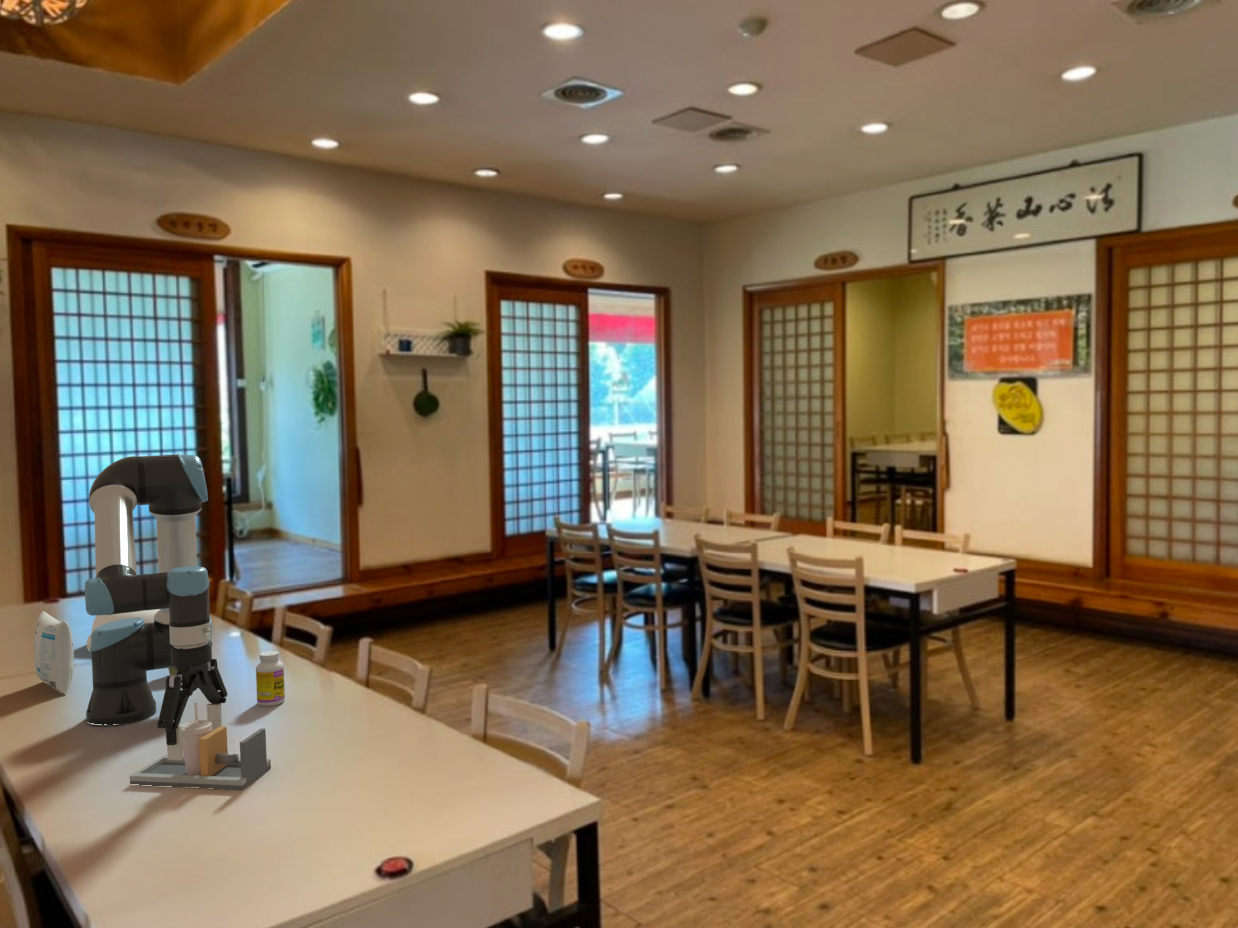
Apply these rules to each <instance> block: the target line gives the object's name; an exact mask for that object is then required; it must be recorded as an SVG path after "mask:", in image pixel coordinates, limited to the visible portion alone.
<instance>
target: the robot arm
mask: <svg viewBox="0 0 1238 928" xmlns="http://www.w3.org/2000/svg"><path fill="white" fill-rule="evenodd" d="M205 477H206V476H205V472H204V467H203V463H202V461H201V458H200V457H199V456H197V455H195V454H180V453H178V454H163V455H162V454H159V455H143V456H139V455H138V456H137V455H133V456H126V457H123V458H121V459H118V460H116V461H114V462H112V463H111V464H109V465H108V466H106V467H105V468H104V469H103V470H102V471H101V472H100V473H99V474H98V475H97V476H96V478H95V479H94V481H93V483H92V485H91V487H90V490H89V495H88V504H89V509H90V510H91V512H92V513H94V552H95V554H94V557H95V558H94V559H95V561H94V562H95V577H94V578H90V579H87V580H85V583H84V602H85V612H86V613H87V614H88V615H89V616H95V617H96V616H97V615H112V614H120V613H129V612H137V611H145V610H156V609H160V610H159V611H158V612H157V613H156V614H155V615H154V622H153V623H145V621H144V620H143V618H139V617H136V618H126V619H121V620H117V621H113V622H110V623H107V624H104V625H102V626H99V627H98V628H96V629H95V630H94V631H93V632H92V631H91V633H92V634H91V633H90V635H91V647H90V651H91V652H90V653H91V671H92V676H91V677H92V692H91V695H90V698H89V701H88V705H87V709H86V712H85V713H86V714H85V719H86V720H87V721H86V723H87V722H89V723H94V724H102V725H104V724H107V725H113V724H122V725H126V724H125V723H128V724H131V723H135V722H139V721H143V720H145V719H148V718H150V717H151V715H152V716H153V715H155V713H156V712H157V701H156V699H155V698H154V696H153V693H152V690H151V687H150V685H149V683H148V678H147V677H148V676H147V672H149V671H155V670H161V669H168V668H172V667H176V668H177V674H176V676H170V675H168V676H166V677H165V690H164V694H163V698H162V702H161V703H162V704H161V707H160V712H159V716H158V721H157V724H156V727H157V729H164V730H165V740H166V749H167V755H168V760H182V759H183V756H184V755H183V750H182V729H181V727H179V726H180V723H181V719H182V718H183V713H184V711H185V709H186V707H187V703H188V700H189V697H191V696H192V695H193V693H194V692H195V691H197V690H198V689H199V690H200V691H201V693H202V694H203V696H204V698H206V700H207V701H208V702H209V703H208V704H206V721H210V722H211V723H212V729H211V730H210V732H211V731H213V730H215V729H216V728H218V727H220V726H222V704H226V702H227V696H228V691H227V689H226V686H225V684H224V681H223V679H222V678H223V677H222V676H221V673H220V670H219V669H218V667H219V666H218V661H217V659H216V658H213V650H212V649H213V648H212V647H213V645H212V646H211V641H212V639H213V637H212V635H213V631H212V630H213V623H212V618H211V616H210V613H211V612H210V580H209V575H208V574H209V573H208V570H207V568H205V567H203V566H199V565H198V559H197V558H198V557H197V556H198V555H197V530H196V529H197V527H196V516H197V514H198V513H200V512H201V511H202V509H203V507H202V505H203V504H202V503H205V502H208V500H209V496H208V495H209V494H208V488H207V482H206V478H205ZM137 506H148V513H150V515H152V516H153V517H155V518H156V519H155V520H156V535H157V536H156V538H157V539H156V540H157V541H156V542H157V563H158V572H156V573H143V574H137V562H136V561H137V560H136V559H137V558H136V547H135V546H136V545H135V544H136V543H135V529H134V528H135V526H134V513H133V512H134V510H135V509H136V507H137Z"/></svg>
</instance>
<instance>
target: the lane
mask: <svg viewBox="0 0 1238 928" xmlns="http://www.w3.org/2000/svg"><path fill="white" fill-rule="evenodd" d="M266 737H267V735H266V728H259V729H258V730H256V731H255V732H254V733H251V734H250V735H249V736H247V737H246V738H244V739H243V740H241V741H240V742H239V760H238V763H237V764H228V765H227V766H225V767H224V768H222V769H221V770H220V771H218V772H217V773H215V774H214V775H212V776H201V774H200V775H188V774H187V771H186V766H185V760H184V755H183V759H182V760H168V754H164V755H162V756H160V757H158V758H157V759H155V760H154V761H152V762H151V763H148V764H147V765H145V766H143V767H142V768H140V769H138V770H136V772H133V773H132V774H130V775H129V785H130V784H139V785H152V786H172V787H171V788H174V787H199V788H213V789H212V790H219V789H224V790H225V791H245V789H246V788H247V787H248V786H251V784H253V783H254V782H255V781H257V780H258V779H259V778H260V777H262V776H263V775H265V774H266V773H268V771H270V770H271V768H272V764H271V763H272V762H271V758H268V757H267V738H266Z"/></svg>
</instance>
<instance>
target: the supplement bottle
mask: <svg viewBox="0 0 1238 928" xmlns="http://www.w3.org/2000/svg"><path fill="white" fill-rule="evenodd" d="M279 658H280V651H277V650H268V651H262V652H260V653H259V660H260V662H259V663H258V664H257V665H256V667H255V678H256V681H255V683H256V684H255V685H256V703H257V704H258V705H259V706H262V707H273V706H278V705H281V704H282V703H284V702H285V698H286V695H285V669H284V668H285V667H284V663H283V662H282V661H280V660H279Z"/></svg>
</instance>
